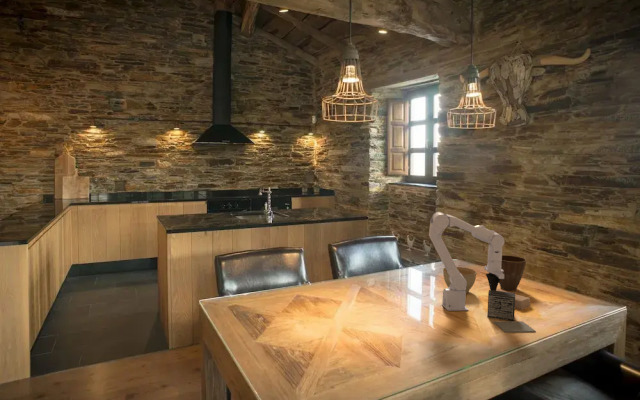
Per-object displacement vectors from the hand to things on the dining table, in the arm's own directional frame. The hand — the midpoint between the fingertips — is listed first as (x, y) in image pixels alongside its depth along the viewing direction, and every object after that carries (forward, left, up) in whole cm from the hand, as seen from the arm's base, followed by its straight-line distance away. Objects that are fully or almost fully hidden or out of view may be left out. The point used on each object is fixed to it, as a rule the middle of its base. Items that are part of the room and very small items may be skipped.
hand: (493, 290), depth 185 cm
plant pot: (+23, +30, -9) cm, 39 cm away
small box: (0, -8, -9) cm, 12 cm away
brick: (+12, +9, -10) cm, 18 cm away
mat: (0, -19, -9) cm, 21 cm away
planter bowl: (-5, +26, -9) cm, 28 cm away
